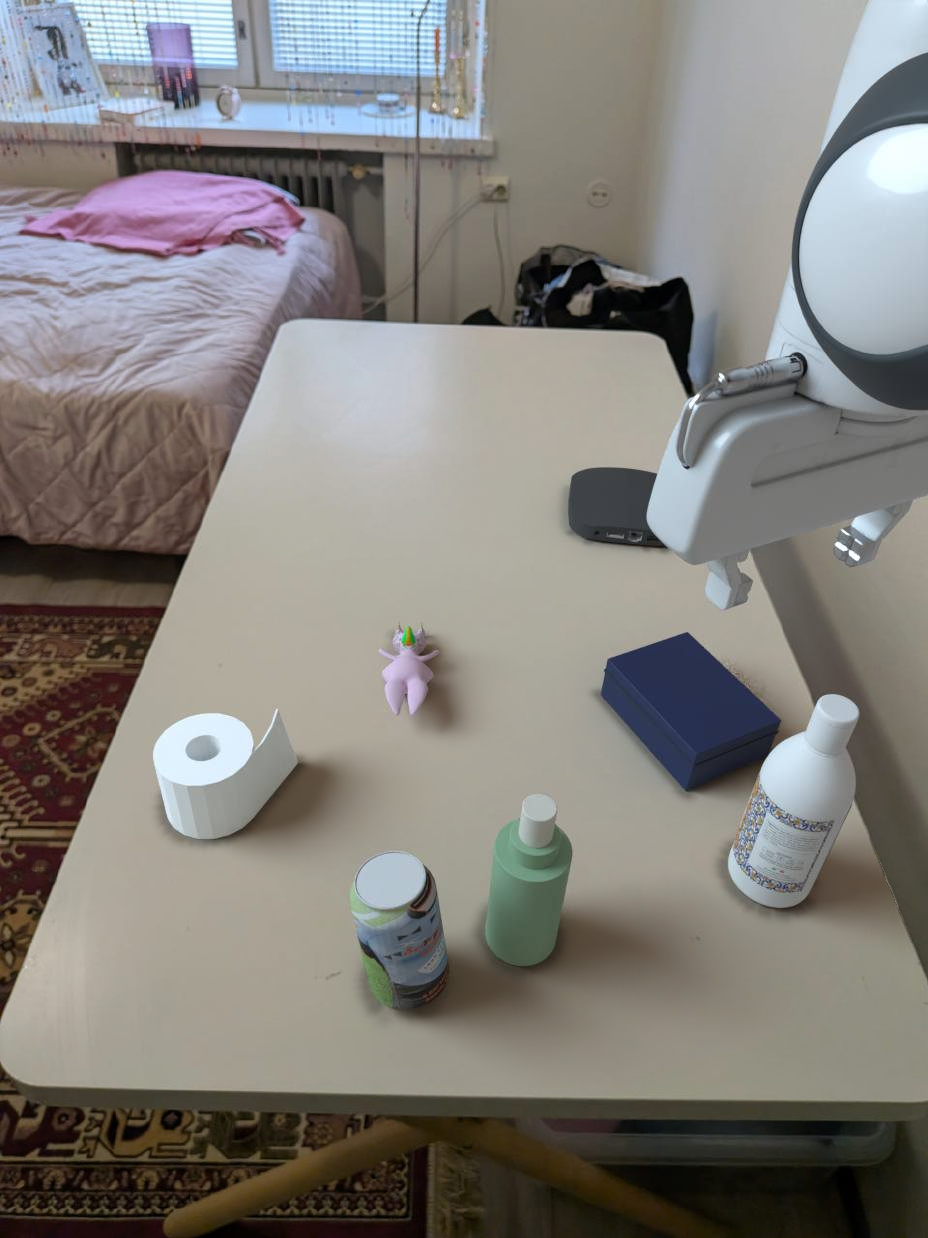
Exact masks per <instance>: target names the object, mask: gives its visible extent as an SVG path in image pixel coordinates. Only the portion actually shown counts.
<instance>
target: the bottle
mask: <svg viewBox="0 0 928 1238" xmlns="http://www.w3.org/2000/svg"><path fill="white" fill-rule="evenodd" d="M557 815H558V806H557V803H556V801H555V800H554V799H553V798H552V797H551V796H549V795H547V794H543V793H533V794H530V795H528V796H527V797H526V798H524V800H523V802H522V803H521V812H520V817H518V818H516V819H514V820H511V821H510V822H508V823H506V824H505V825H504V826H503V827H501V829H500V830H499V831H498V833H497V835H496V837H495V840H494V846H493V847H494V848H493V853H492V855H493V856H492V864H491V873H490V883H489V892H488V902H487V909H486V910H487V911H486V921H485V928H484V934H485V935H484V936H485V940H486V943H487V945H488V947H489V949H490V951H491V952H492V953H493V954H494V955H495V956H496V957H497V958H498V959H500V960H501V961H503V962H504V963H506V964H509V965H512V966H516V967H531V966H534V965H538V964H541V962H543V961H545V960H546V959H547V958H548V957H549V956H550V955H551V954H552V952H553V950H554V949H555V946H556V941H557V937H558V931H559V927H560V921H561V916H562V911H563V906H564V903H565V902H564V901H565V896H566V891H567V885H568V882H569V875H570V870H571V866H572V865H571V864H572V860H573V855H574V854H573V851H574V850H573V846H572V843H571V841H570V839H569V837H568V835H567V834H566V832H565V831H564V830H563V829H562V828H561V827H559V826H558V825H557V824H556V820H557Z"/></svg>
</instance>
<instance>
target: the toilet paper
mask: <svg viewBox="0 0 928 1238" xmlns="http://www.w3.org/2000/svg"><path fill="white" fill-rule="evenodd" d="M152 759H153V765H154V771H155V774H156V777H157V781H158V785H159V789H160V793H161V798H162V801H163V805H164V809H165V813H166V814H165V815H166V817H167V820H168V821H169V823H170V825H171V826H172V827H173V829H174V830H176V831H177V832H179V833H181V834H182V835H183V836H185V837H189V838H192V839H196V840H215V839H220V838H224V837H228V836H231V835H232V834H234V833H236V832H238V831H240V830H242V829H243V828H245V827H246V826H247V825H248V824H249V823H250V822H251V821H252V820H253V819H254V818H255V817H256V816H257V814H258V813H259V812H260V811H261V809H262V808H263V807H264V806H265V805H266V803H267V802H268V801H269V800H270V798H271V797H272V796H273V795H274V793H275V792H276V791H277V790H278V788H279V787H280V786H281V785H282V783H283V782H285V780H286V779H287V777H289V775H290V774H291V773H292V771H293V770H294V769H295V767H296V766H297V765H298V764H299V762H298V759H297V756H296V754H295V751H294V748H293V745H292V743H291V741H290V738H289V735H288V732H287V729H286V727H285V724H284V721H283V719H282V716H281V712H280V711H279V709H278V708H275V711H274V714H273V717H272V720H271V722H270V725H269V727H268V729H267V731H266V732H265V735H264V736H263V738H262V739H261V741H260V742H259V744H258V745H257V746H256V747H255V742H254V738H253V735H252V731H251V730H250V729H249V728H248V726H247V725H246V724H245V723H244V722H243V721H241V720H239V719H238V718H236V717H234V716H231V715H227V714H224V713H216V712H215V713H214V712H213V713H212V712H211V713H207V712H205V713H199V714H195V715H190V716H188V717H186V718H183V719H180V720H179V721H177V722H174V723H173V724H172V725H170V726H169V727H168V728H167V729H165V730H164V731H163V732H162V733H161V734H160V736H159V737H158V739H157V740H156V741H155V744H154V748H153V751H152Z"/></svg>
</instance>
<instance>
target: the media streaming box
mask: <svg viewBox="0 0 928 1238" xmlns="http://www.w3.org/2000/svg"><path fill="white" fill-rule="evenodd" d="M657 474H658V472H653V471H649V470H642V469H637V468H629V467H615V466H614V467H613V466H606V467H605V466H604V467H603V466H602V467H598V466H597V467H589V468H584V469H582V470H578V471H577V472H574V473H573V474H572V475H571V477H570V484H569V493H568V501H567V502H568V503H567V507H568V509H567V515H568V516H567V517H568V518H567V519H568V525H569V527H570V529H571V531H573V532H574V533H575V534H577V535H578V536H580V537H582V538H585V539H589V540H593V541H601V542H609V543H610V542H611V543H619V544H630V545H640V546H642V545H643V546H655V547H657V546H658V547H662V546H663V547H664V546H665V547H666V545H665V544H663V543H662V542H661V541H660V540H659V539H658V537H657V536H656V535H655V534H654V533H653V532H652V530H651V529H650V527H649V525H648V523H647V509H648V505H649V501H650V497H651V494H652V490H653V487H654V483H655V480H656V477H657Z"/></svg>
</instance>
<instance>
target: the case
mask: <svg viewBox="0 0 928 1238" xmlns="http://www.w3.org/2000/svg"><path fill="white" fill-rule="evenodd" d="M603 673H604V676H603V680H602V686H601V691H600V696H601V697H602V698H603V699H604V700H605V702H606V703H607V704H608V705H609V707H611V709H612V710H613V711H614V712H615V713H616V714H617V715H618V716H619V718H620V719H621V720H622V721H623V722H624V723H625V724H626V726H627V727H628V728H629V729H630V730H631V731H632V732H633V734H635V736H636V737H637V738H638V739H639V740H640V741H641V743H642V744H643V745H644V746H645V747H646V748H647V749H648V750H649V752H650V753H651V754H652V755H653V756H654V757H655V758H656V759H657V760H658V762H659V763H660V764H661V765H662V766H663V767H664V768H665V770H666V771H667V772H668V773H669V774H670V775H671V776H672V778H673V779H674V780H675V781H676V782H677V783H678V785H680V786H681V787H682V788H683V790H684V791H685V792H687V791H690V790H692V789H694V788H697V787H699V786H702V785H704V784H706V783H709V782H711V781H713V780H717V779H718V778H720V777H723V776H725V775H728V774H730V773H732V772H735V771H738V770H739V769H742V768H745V767H747V766H749V765H751V764H754V763H756V762H758V761H761V760H763V759H766V758H767V757H768V755H769V754H770V753H771V751H772V747H773V745H774V741H775V740H776V737H777V735H779V732H780V731H779V729H780V726H781V724H782V719H781V718H780V717H779V716H778V715H777V714H775V713H774V712H773V710H771V709H770V708H769V707H768V705H766V704H765V703H764V702H763V701H762V700H760V698H758V697H757V696H756V695H755V694H754V692H752V691H751V690H750V689H749V688H748V687H747V686H746V685H745V684H744V683H743V682H742V681H740V680H739V679H738V678H737V677H736V675H734V674H733V673H732V672H731V671H730V670H729V669H728V668H727V667H726V666H725V665H724V664H723V663H721V661H720V660H718V659H717V657H715V656H714V655H713V654H712V653H711V652H710V651H709V650H708V649H707V648H705V647H704V646H703V644H701V643H700V642H699V641H698V640H697V639H696V638H695V637H694V636H693V635H692V634H691V633H690V632H689V631H686V632H683V633H679V634H677V635H673V636H670V637H668V638H665V639H662V640H659V641H656V642H653V643H649V644H647V645H643V646H641V647H638V648H635V649H633V650H632V649H631V650H630V651H626V652H623V653H621V654H618V655H615V656H611V657H609V658H607V660H606V665H605V668H604V669H603Z"/></svg>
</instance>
